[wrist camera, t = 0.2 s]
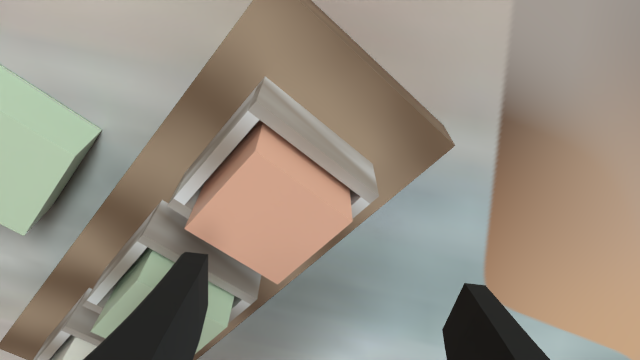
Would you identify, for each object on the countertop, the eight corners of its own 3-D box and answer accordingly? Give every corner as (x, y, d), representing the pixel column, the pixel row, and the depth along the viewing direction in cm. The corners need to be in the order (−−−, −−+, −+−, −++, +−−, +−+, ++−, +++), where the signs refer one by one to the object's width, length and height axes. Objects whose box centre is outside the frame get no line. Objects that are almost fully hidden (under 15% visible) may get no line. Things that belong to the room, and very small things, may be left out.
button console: (150, 378, 31) (127, 443, 27) (16, 320, 27) (-33, 385, 24) (443, 125, 19) (472, 176, 16) (277, -32, 16) (263, -15, 12)
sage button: (192, 319, 23) (175, 370, 20) (118, 281, 21) (90, 331, 18) (238, 276, 21) (227, 326, 18) (161, 232, 19) (137, 280, 17)
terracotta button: (283, 236, 19) (277, 284, 17) (203, 183, 18) (184, 228, 15) (348, 176, 17) (352, 221, 15) (266, 113, 16) (255, 150, 13)
